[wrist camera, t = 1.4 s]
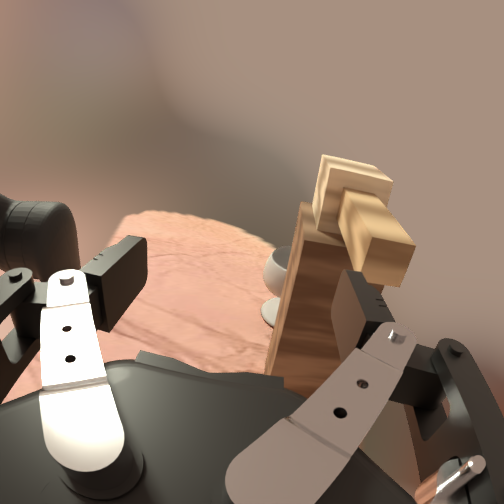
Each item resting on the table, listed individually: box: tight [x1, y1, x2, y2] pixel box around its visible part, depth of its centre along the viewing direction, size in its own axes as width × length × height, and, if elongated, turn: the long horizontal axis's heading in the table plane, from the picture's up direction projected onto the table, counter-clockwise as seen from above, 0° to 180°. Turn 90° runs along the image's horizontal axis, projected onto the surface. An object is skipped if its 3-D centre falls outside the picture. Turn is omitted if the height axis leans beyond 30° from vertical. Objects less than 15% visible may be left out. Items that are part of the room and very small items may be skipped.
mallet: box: [312, 154, 416, 287], centre depth 28 cm, size 20×7×7 cm, turn 173°
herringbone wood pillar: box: [264, 201, 384, 399], centre depth 42 cm, size 12×10×32 cm
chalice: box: [261, 246, 292, 327], centre depth 65 cm, size 14×14×15 cm
